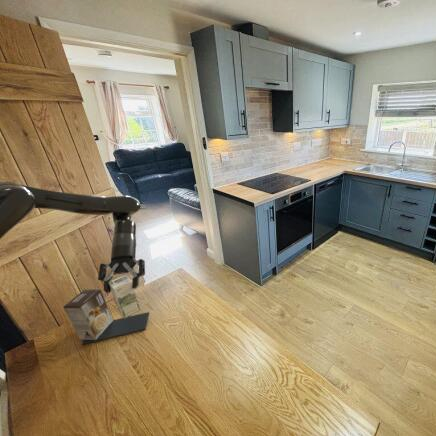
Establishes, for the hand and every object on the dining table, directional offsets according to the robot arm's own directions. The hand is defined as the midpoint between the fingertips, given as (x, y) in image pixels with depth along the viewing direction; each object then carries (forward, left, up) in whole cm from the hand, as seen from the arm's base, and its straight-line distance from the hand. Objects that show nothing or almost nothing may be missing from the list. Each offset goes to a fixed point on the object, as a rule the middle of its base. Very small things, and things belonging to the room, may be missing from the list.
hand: (121, 290), depth 85 cm
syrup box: (0, +1, -11) cm, 11 cm away
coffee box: (-13, +3, -18) cm, 23 cm away
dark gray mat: (-6, +2, -19) cm, 20 cm away
